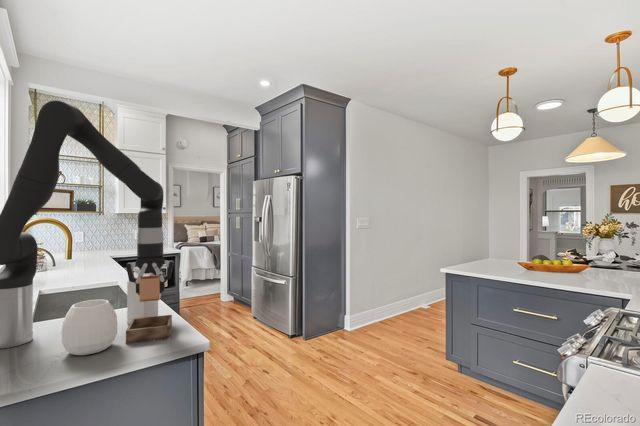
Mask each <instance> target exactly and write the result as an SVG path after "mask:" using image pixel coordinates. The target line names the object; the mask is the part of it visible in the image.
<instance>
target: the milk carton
mask: <svg viewBox="0 0 640 426" xmlns="http://www.w3.org/2000/svg"><path fill="white" fill-rule="evenodd" d="M140 271H141V270H140V269H139V268H134V271H133V273H134V278H137V277H138V275H139V273H140ZM143 276H155V273H147V274H145V273H144V275H143ZM126 283H127V286H126V288H127V291H126V292H127V294H126V295H127V296H126V303H127V305H126V307H127V309H126V310H127V311H126V313H127V314H126V319H127V320H126V323H127V324H128V325H129V324H130V322H131V321H132V319H134V318H144V317H154V316H159V300H155V301H144V302H140V295H138V293H136V284H135V283H134V282H130V281H129V279H128V280H127V282H126Z"/></svg>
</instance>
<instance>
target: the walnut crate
mask: <svg viewBox="0 0 640 426" xmlns="http://www.w3.org/2000/svg"><path fill="white" fill-rule="evenodd" d="M172 319H173V315H172V314H166V315H158V316H154V317H144V318H134V319H132V321H131V322H130V324H128V326H127V328H126V330H125V345H129V344H137V343H146V341H147V342H152V341H153V340H155V341H160V340H161V339H163V340H168V339H169V338H171V334H170V333H172V327H173V323H172V322H173V320H172ZM153 342H154V341H153Z"/></svg>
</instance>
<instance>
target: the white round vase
mask: <svg viewBox="0 0 640 426" xmlns="http://www.w3.org/2000/svg"><path fill="white" fill-rule="evenodd" d="M61 327H62V328H61V343H62V346H63V347H64V350H65V351H66V352H67V353H69V354H71V355H74V356H86V355H91V354H96V353H100V352H102V351H105V350H106V349H108V348H109V347H110V346H112V344H113V343H114V341H115V339H116V337H117V334H118V316H117V313H116V310H115V308H114V307H113V306H112V304H111V302H110V301H109V300H107V299H89V300H84V301H79V302H77V303H76V302H75V303H73V304H72V305H71V307H70V308H69V310H68V311H67V313H66V314H65V316H64V319H63V321H62V325H61Z"/></svg>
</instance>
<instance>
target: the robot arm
mask: <svg viewBox="0 0 640 426" xmlns="http://www.w3.org/2000/svg"><path fill="white" fill-rule="evenodd" d="M33 129H34V130H33V133H32V137H31V139H30V140H31V141H30V142H29V145H28V148H27V150H26V152H25V154H24V158H23V161H22V162H21V165H20V168H19V169H18V172H17V174H16V176H15V178H14V181H13V183H12V186H11V189H10V192H9V195H8V197H7V199H6V202H5V203H4V206H3V208H2V209H1V212H0V266H4V269H3V270H2V271H1V272H0V349H8V348H13V347H14V348H15V347H17V346H21V345H24V344H26V343H29V342H31V341H32V340H33V338H34V334H33V333H34V330H33V327H34V321H33V320H34V312H33V311H34V278H35V277H36V273H37V266H38V243H37V240H36V238H35V237H34V236H33V235H32V234H30V233H28V232H24V231H23V230H24V228H25V226H26V225H27V223H28V222H29V221H30V220H31V219H32V217H34V215H36V214H37V213H38V212H39V211H40V210H41V209H42V208H43V207H44V206H45V205H46V204H47V203H48V202H49V201H50V199H51V198H52V196H53V193H54V192H55V190H56V187H57V185H58V182H59V177H60V151H61V149H62V146H63V145H64V142H65V140H66V138H67V136H68V137H70V138H71V139H73V140H75V141H76V142H78V143H79V144H81V145H83V146H84V147H85V148H86V149H87V150H88V151H89V152H90V153H91V154H92V155H93V156H94V158H95V159H96V160H97V161H98V162H99V163H100V164H101V165H102V166H103V168H105V170H107V171H108V172H109V173H111V174H112V175H113V176H114V177H115V178H116V179H117V180H118V181H120V182H121V183H123V184H124V185H126V187H127V188H128V190H130V191H131V192H132V193H133V194H134V195H136V196H137V198H139V199H140V210H139V211H138V216H137V236H136V238H137V239H136V241H137V242H136V245H137V247H136V249H137V251H136V253H137V254H136V257H137V258H136V261H134V262H130V261H129V262H127V263H126V264H125V268H126V269H125V270H126V272H127V277H128V280H129V281H130V282H134V283H135V284H136V293H138V295H140V290H139V280H140V279H141V278H142V277H143V275H144V273H145V274H147V273H153V274H156V275H158V277H160V293H161V294H163V292H164V291H165V289H166V288H165V287H166V283H165V282H166V281H168V280H171V278H172V273H173V266H174V263H175V262H174V260H167V259H165V257H164V241H165V239H164V231H163V205H164V188H163V186H162V185H161V184H160V183H159V182H157V181H155V180H154V179H153V178H152V177H150V176H149V175H148V174H147V173H145V172H144V171H143V170H142V169H141V167H140V166H138V165H137V163H135V162H134V160H132V159H131V158H129V156H127V155H126V154H125V153H124V152H122V151H121V150H120V149H119V148H118V147H116V146H115V145H114V144H113V143H111V141H109V140H108V139H107V137H105V136H104V135H103V134H102V133H101V132H100V131H99V130H98V129H97V128H96V127H95V126H94V125H93V123H92V122H91V121H90V120H89V119H88V118H87V116H86V115H85V113H83V112H82V111H81V110H80V109H79V108H78V107H76V106H74V105H72V104H69V103H67V102H65V101H63V100H59V99H52V100H49V101H47V102H46V103H44V104H43V105H42V106H41V107H40V109H39V111H38V115H37V118H36V123H35V126H34V128H33ZM164 265H165V266H166V268H167V272H166V275H165V276H164V273H163V270H162V269H161V268H162V267H163V266H164ZM135 267H137V269H140V270H141V271H140V273H139V275H138V277H137V278H134V270H135V269H136V268H135Z"/></svg>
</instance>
